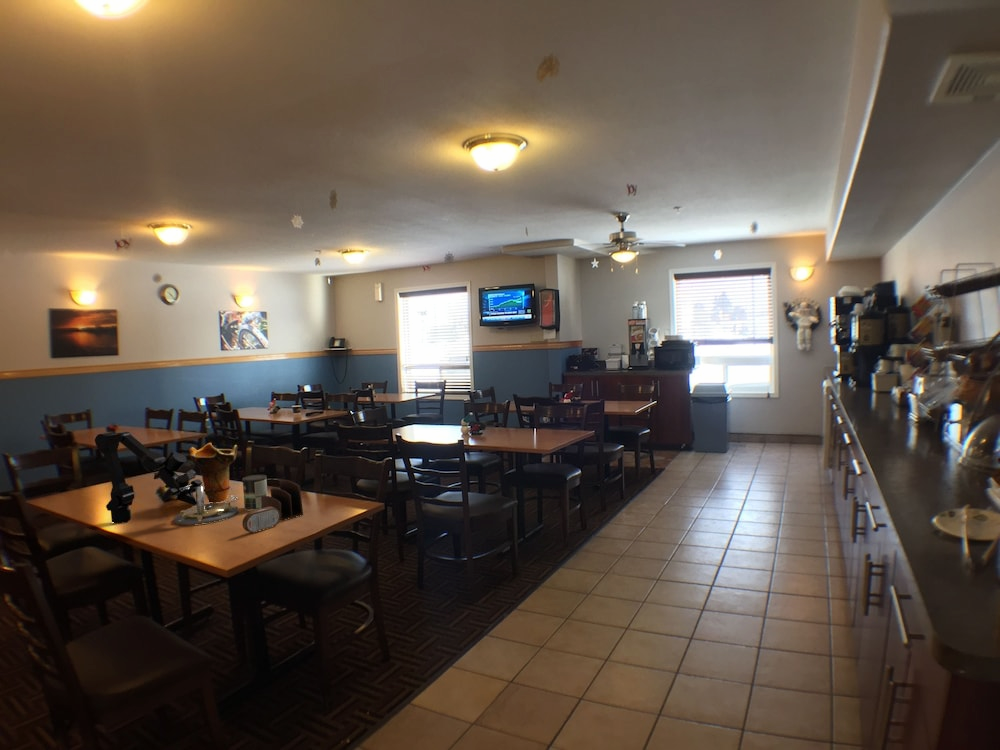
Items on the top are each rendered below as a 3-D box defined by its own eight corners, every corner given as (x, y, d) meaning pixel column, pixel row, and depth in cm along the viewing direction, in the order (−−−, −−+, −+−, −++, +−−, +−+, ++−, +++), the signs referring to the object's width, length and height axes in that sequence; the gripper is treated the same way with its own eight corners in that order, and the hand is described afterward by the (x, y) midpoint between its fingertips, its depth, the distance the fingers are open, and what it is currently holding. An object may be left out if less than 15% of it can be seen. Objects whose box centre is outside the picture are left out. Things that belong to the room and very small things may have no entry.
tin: (278, 524, 244) (276, 503, 243) (282, 525, 242) (280, 505, 241) (242, 534, 232) (241, 513, 232) (246, 536, 230) (245, 514, 230)
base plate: (170, 529, 244) (170, 524, 244) (179, 513, 267) (178, 509, 267) (236, 519, 253) (236, 515, 253) (239, 505, 276) (239, 501, 276)
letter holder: (283, 507, 268) (281, 477, 268) (303, 515, 254) (301, 483, 253) (261, 513, 262) (259, 481, 261) (281, 521, 247) (278, 488, 246)
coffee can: (243, 512, 264) (241, 481, 263) (245, 506, 273) (242, 476, 273) (268, 508, 267) (266, 478, 267) (268, 503, 277) (266, 473, 276)
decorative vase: (227, 506, 274) (220, 446, 272) (183, 508, 278) (175, 449, 277) (253, 494, 294) (247, 438, 293) (212, 496, 298) (205, 441, 297)
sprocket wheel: (189, 508, 268) (186, 479, 267) (237, 503, 272) (235, 475, 271) (172, 521, 248) (170, 490, 247) (225, 516, 252) (223, 486, 251)
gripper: (165, 470, 242) (191, 496, 240) (196, 461, 260) (221, 485, 259) (150, 489, 244) (175, 515, 242) (182, 478, 262) (206, 503, 261)
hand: (195, 504), depth 251 cm, fingers closed
